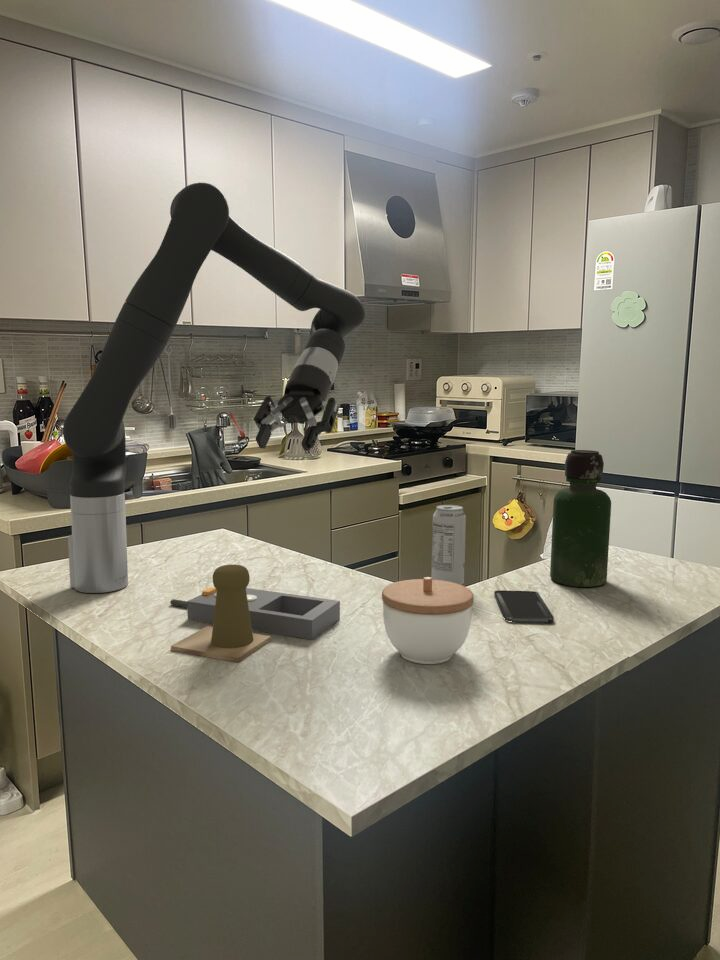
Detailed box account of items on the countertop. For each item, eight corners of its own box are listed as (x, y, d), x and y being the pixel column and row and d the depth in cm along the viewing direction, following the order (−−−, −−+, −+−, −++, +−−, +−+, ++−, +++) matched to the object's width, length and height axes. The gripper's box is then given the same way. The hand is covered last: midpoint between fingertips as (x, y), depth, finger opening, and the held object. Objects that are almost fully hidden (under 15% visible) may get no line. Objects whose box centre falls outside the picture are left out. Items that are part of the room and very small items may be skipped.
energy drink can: (470, 587, 131) (473, 508, 129) (446, 593, 128) (448, 511, 126) (448, 580, 136) (450, 503, 134) (424, 585, 133) (426, 506, 130)
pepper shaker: (233, 651, 98) (231, 574, 96) (202, 642, 101) (200, 567, 100) (262, 638, 103) (261, 564, 102) (231, 630, 106) (229, 558, 105)
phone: (505, 618, 112) (493, 590, 127) (505, 625, 113) (493, 596, 127) (556, 619, 112) (537, 591, 127) (555, 626, 112) (537, 597, 127)
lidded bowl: (381, 637, 106) (382, 565, 104) (466, 638, 105) (468, 566, 104) (381, 671, 93) (382, 590, 92) (477, 673, 93) (480, 592, 91)
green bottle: (539, 579, 137) (545, 450, 133) (568, 570, 144) (575, 447, 140) (588, 592, 129) (595, 455, 126) (616, 581, 136) (624, 451, 133)
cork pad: (171, 649, 100) (170, 645, 100) (207, 629, 108) (207, 625, 108) (238, 662, 96) (238, 658, 96) (271, 640, 104) (271, 636, 104)
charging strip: (151, 613, 115) (151, 592, 115) (188, 596, 124) (188, 576, 124) (312, 639, 104) (312, 616, 104) (339, 618, 114) (339, 597, 113)
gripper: (270, 362, 128) (237, 430, 119) (342, 362, 123) (313, 433, 114) (284, 392, 134) (254, 458, 125) (354, 393, 128) (327, 463, 119)
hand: (282, 446), depth 119 cm, fingers open, 8 cm apart
